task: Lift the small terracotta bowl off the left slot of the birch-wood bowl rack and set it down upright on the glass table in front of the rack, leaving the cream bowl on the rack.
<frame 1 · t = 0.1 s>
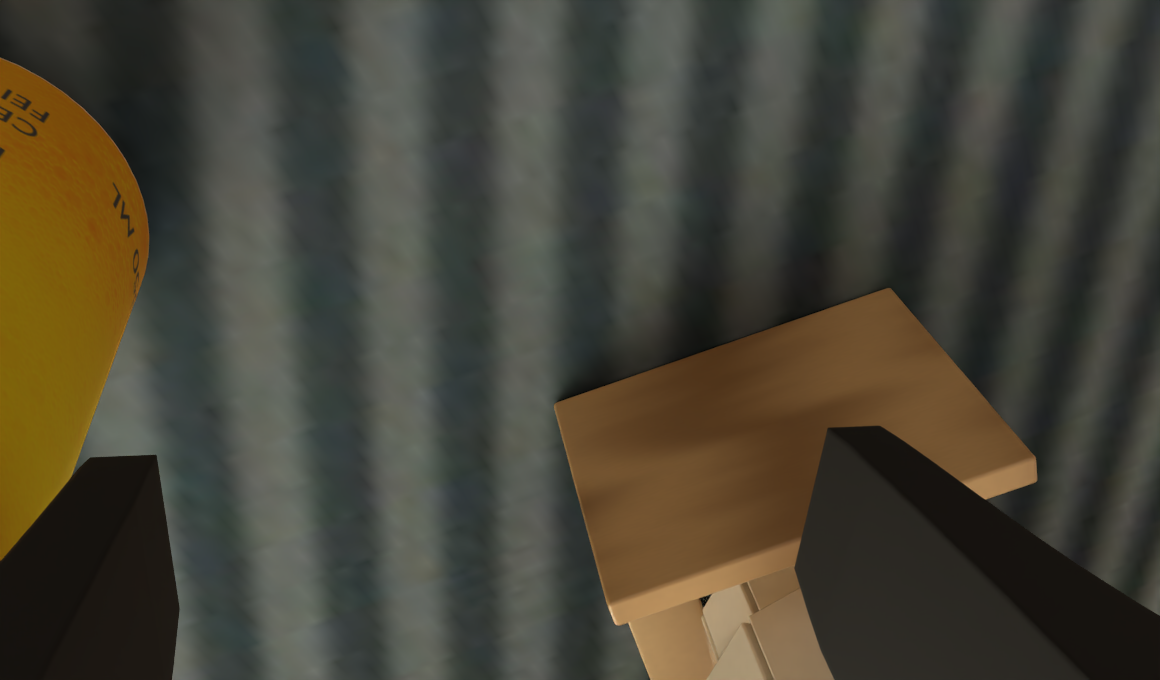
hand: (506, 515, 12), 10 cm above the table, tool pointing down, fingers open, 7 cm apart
bowl rack: (788, 598, 28), on the table
cream bowl: (806, 590, 23), point 3 cm above the table, touching bowl rack
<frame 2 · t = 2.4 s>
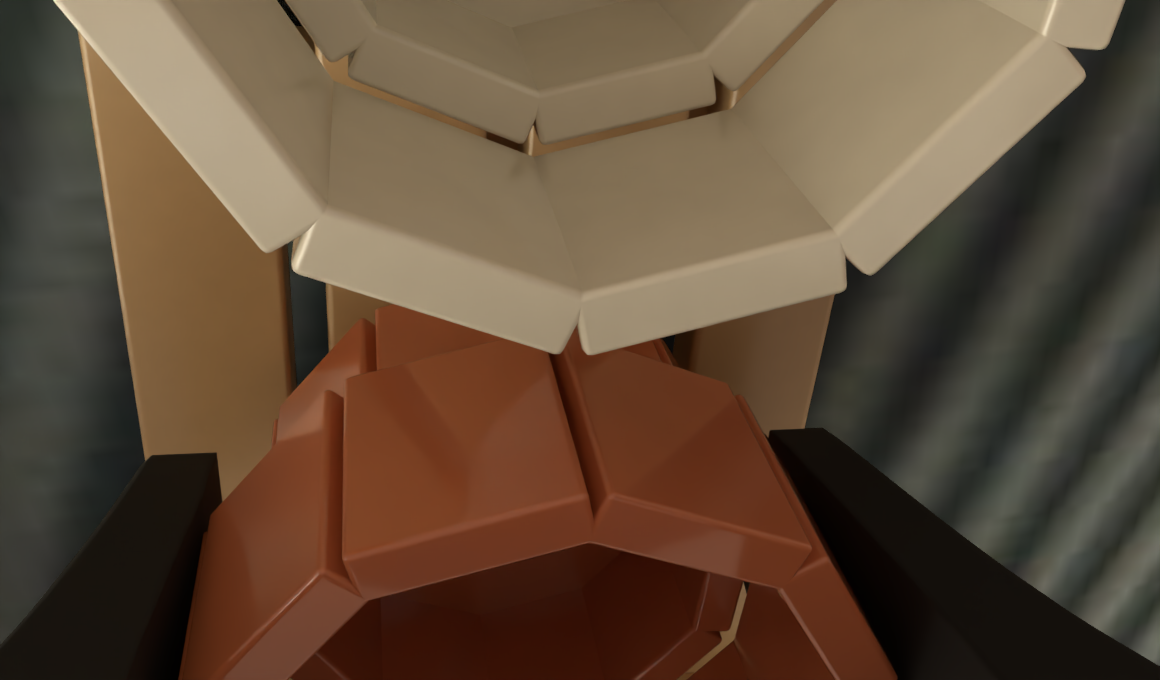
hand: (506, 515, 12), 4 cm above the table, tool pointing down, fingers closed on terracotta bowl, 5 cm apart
bowl rack: (478, 66, 13), on the table
terracotta bowl: (490, 447, 13), point 3 cm above the table, touching bowl rack, gripper
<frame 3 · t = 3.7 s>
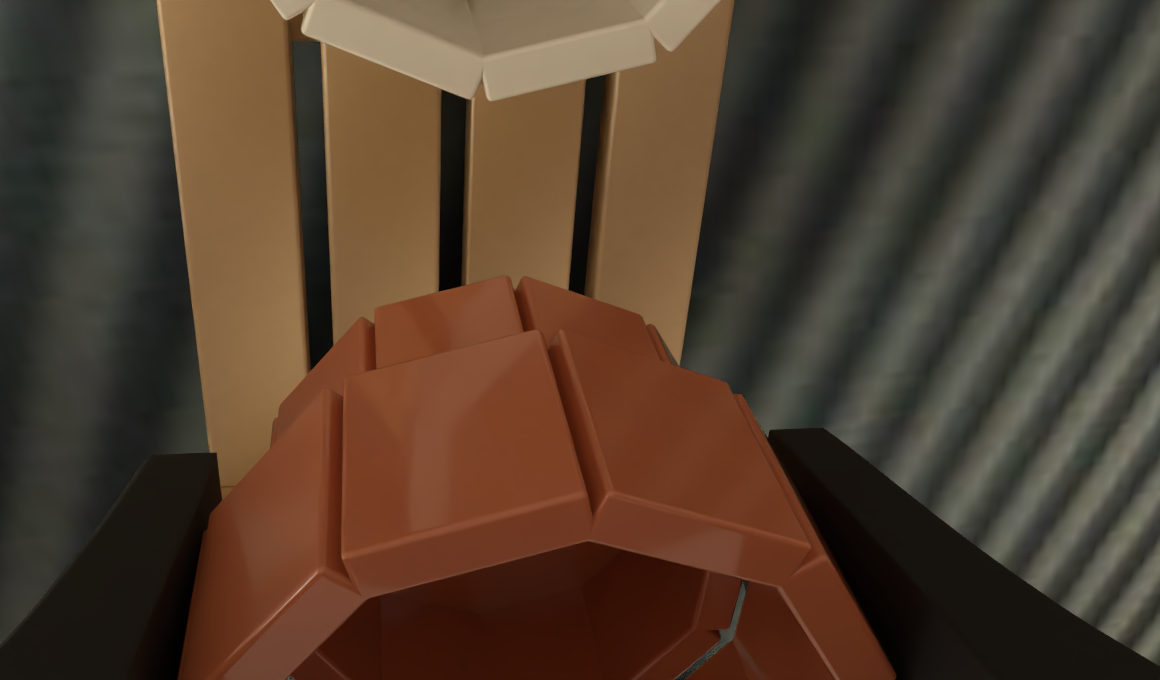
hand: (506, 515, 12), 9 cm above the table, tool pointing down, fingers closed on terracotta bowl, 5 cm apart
terracotta bowl: (489, 446, 13), point 8 cm above the table, touching gripper
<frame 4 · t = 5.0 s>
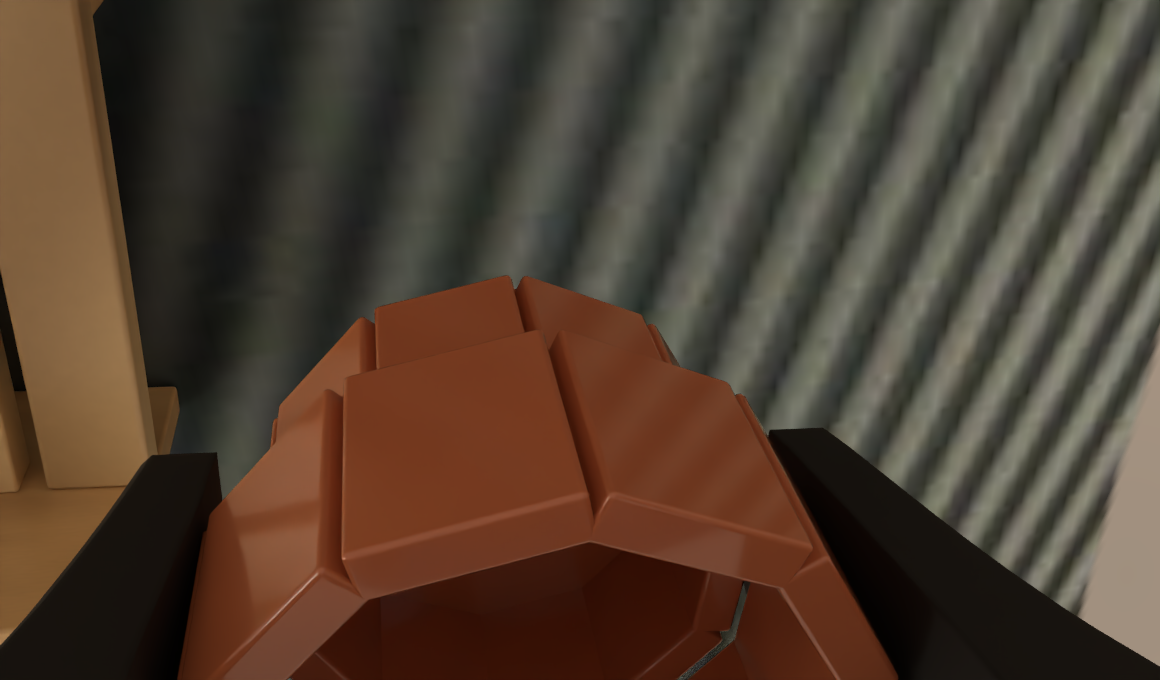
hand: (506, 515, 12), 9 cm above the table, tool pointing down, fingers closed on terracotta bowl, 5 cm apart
terracotta bowl: (490, 447, 13), point 8 cm above the table, touching gripper
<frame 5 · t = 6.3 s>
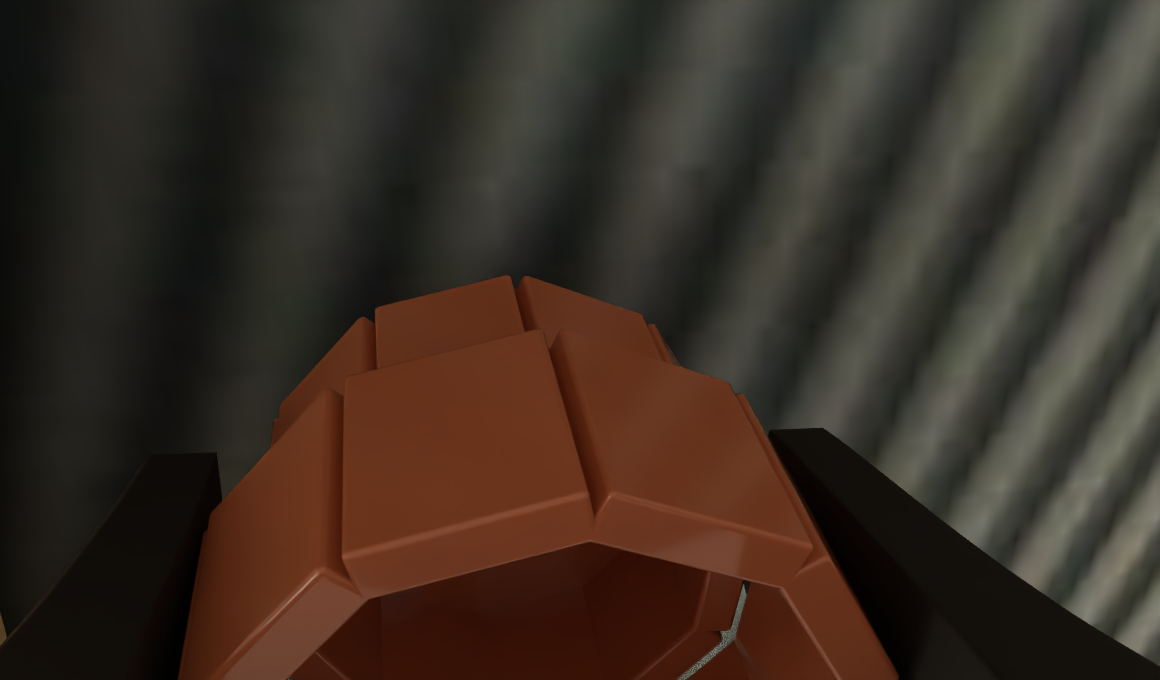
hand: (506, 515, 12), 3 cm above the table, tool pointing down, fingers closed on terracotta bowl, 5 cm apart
terracotta bowl: (490, 446, 13), point 1 cm above the table, touching gripper
when the fingers open (1 cm above the table, at t = 7.4 s): terracotta bowl stays where it is, on the table.
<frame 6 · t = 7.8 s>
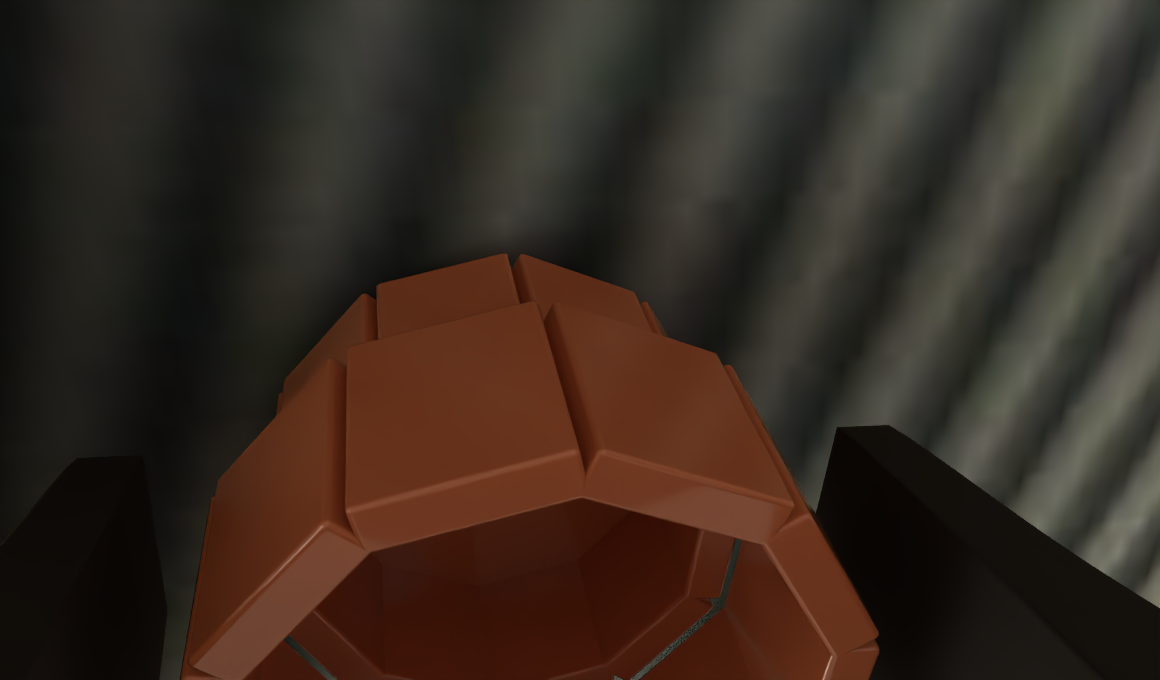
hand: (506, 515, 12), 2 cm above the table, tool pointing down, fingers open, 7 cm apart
terracotta bowl: (488, 422, 13), on the table
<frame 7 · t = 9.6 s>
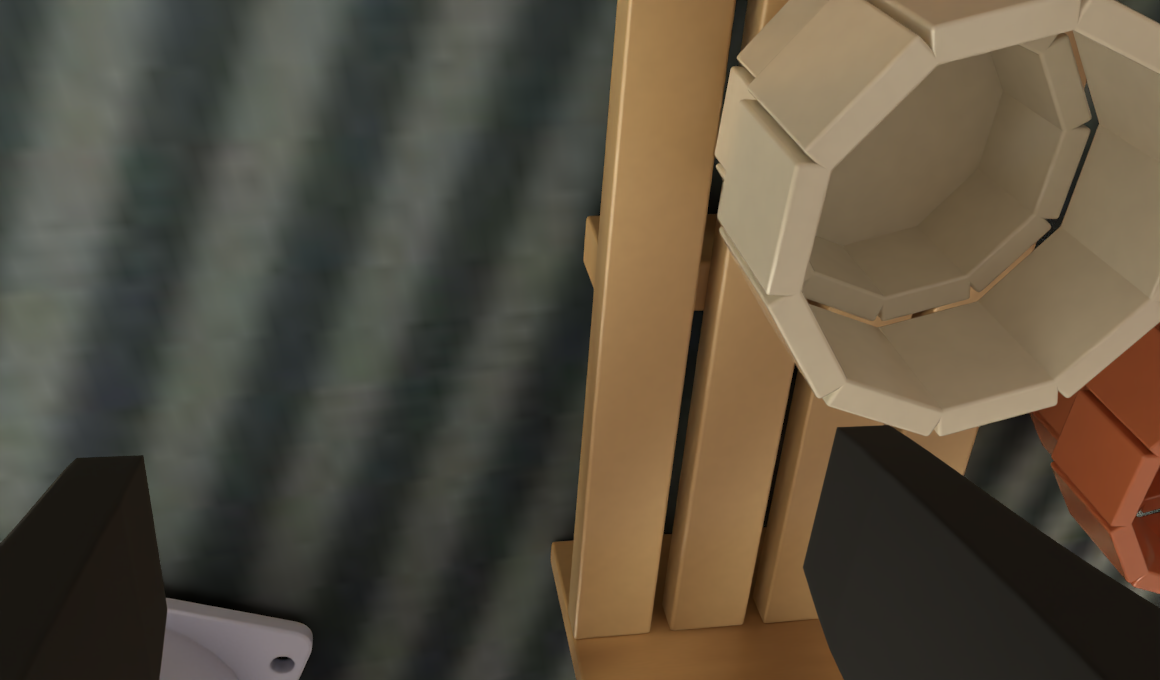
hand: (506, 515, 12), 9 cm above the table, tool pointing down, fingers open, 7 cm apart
bowl rack: (764, 230, 21), on the table
cream bowl: (859, 110, 17), point 3 cm above the table, touching bowl rack
terracotta bowl: (1120, 363, 25), on the table
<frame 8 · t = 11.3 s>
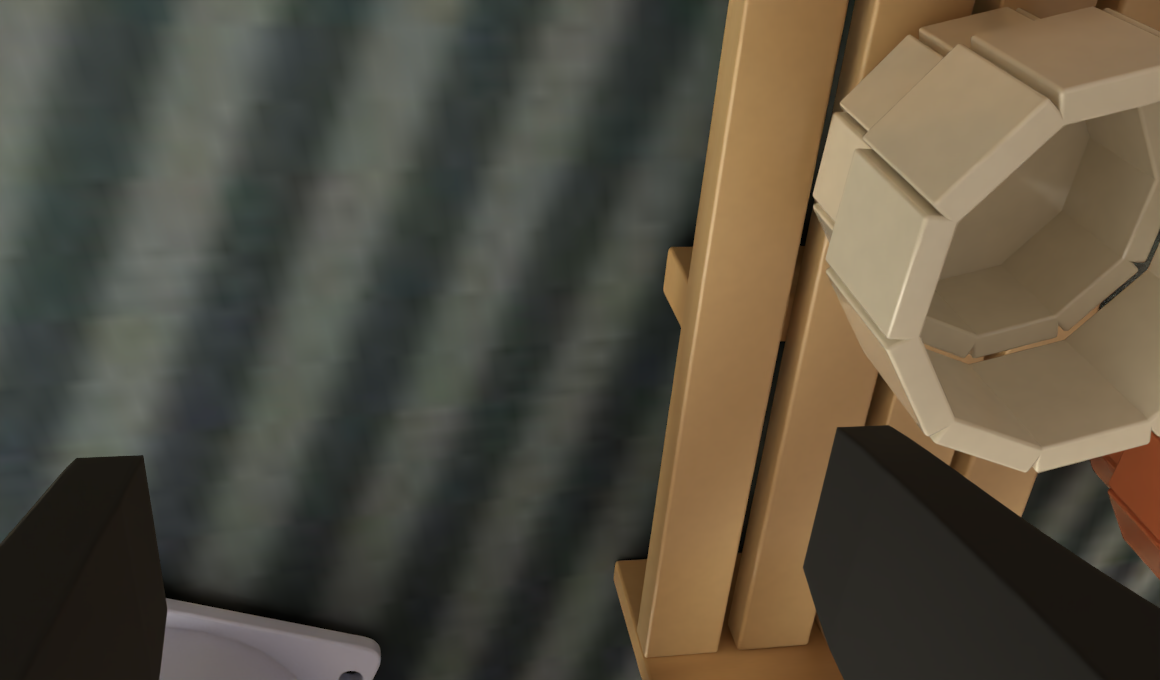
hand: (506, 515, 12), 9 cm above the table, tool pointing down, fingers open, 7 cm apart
bowl rack: (836, 262, 22), on the table
cream bowl: (949, 153, 18), point 3 cm above the table, touching bowl rack
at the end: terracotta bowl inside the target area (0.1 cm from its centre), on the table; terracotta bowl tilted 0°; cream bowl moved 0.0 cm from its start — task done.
